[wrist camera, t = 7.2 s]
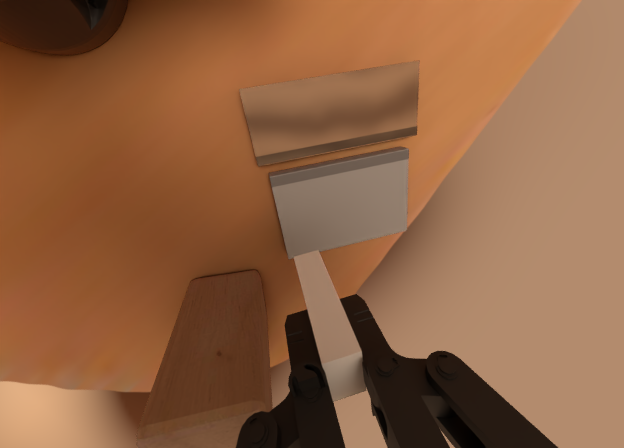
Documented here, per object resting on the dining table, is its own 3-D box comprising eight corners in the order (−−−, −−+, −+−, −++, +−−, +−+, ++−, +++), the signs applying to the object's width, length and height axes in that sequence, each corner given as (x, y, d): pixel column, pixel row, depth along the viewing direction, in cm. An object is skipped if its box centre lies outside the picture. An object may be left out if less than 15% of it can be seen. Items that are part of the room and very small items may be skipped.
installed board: (239, 90, 27) (238, 89, 25) (408, 63, 30) (420, 60, 28) (257, 162, 31) (258, 166, 29) (406, 133, 33) (416, 135, 31)
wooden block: (259, 266, 38) (264, 410, 20) (267, 315, 42) (276, 468, 24) (188, 276, 36) (125, 444, 18) (204, 326, 40) (166, 500, 23)
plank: (268, 173, 32) (269, 177, 30) (400, 146, 34) (408, 148, 32) (286, 252, 37) (288, 259, 35) (399, 225, 39) (407, 230, 37)
